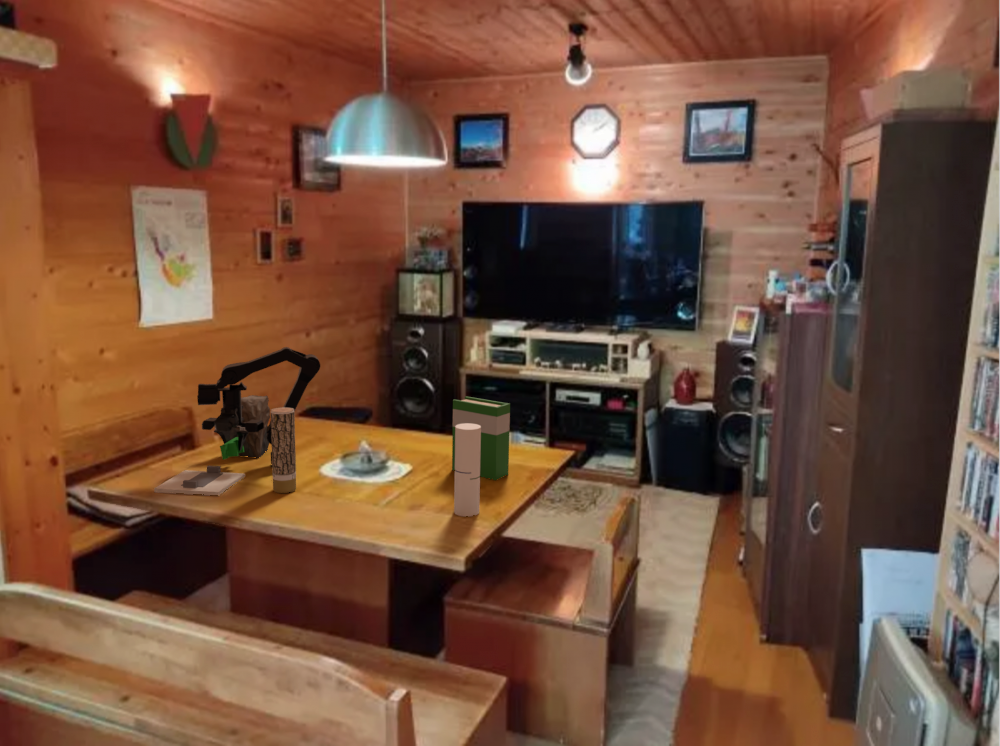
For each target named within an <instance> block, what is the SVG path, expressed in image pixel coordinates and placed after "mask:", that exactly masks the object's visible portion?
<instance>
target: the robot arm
mask: <svg viewBox="0 0 1000 746" xmlns="http://www.w3.org/2000/svg"><path fill="white" fill-rule="evenodd" d="M286 361H287V362H288V363H291V364H293V365H295V366H297V367H299V369H298V373H297V377H296V380H295V382H294V384H293V386H292V388H291V391H290V392H289V394H288V396H287V398H286V400H285V402H284V405H283V407H287V408H293V409H294V412H295V411H296V410H297V407H298V405H299V403H300V401H301V399H302V397H303V395H304V394H305V393H304V392H305V391H306V388H308V385H309V384H310V383H311V381H312V380H313V379H314V378H315V377H316V375H317V374H318V373H319V371H320V369H321V362H320V360H319V358H318V356H316V355H314V354H312V353H310V354H309V353H308V354H306V353H303V352H301V351H297V350H295V349H292V348H290V347H289V346H285V347H282V348H281V349H278V350H276V351H273V352H270V353H267V354H265V355H262V356H260V357H256V358H254V359H250V360H249V361H245V362H244V361H241V362H234V363H230V364H226V365H225V366H224V367H223V368H222V370H221V373H220V374H221V376H220V378H219V379H218V380H217V381H216V383H199V384H198V385H197V405H198V406H211V405H214V406H215V405H217V404H218V403H219V402H221V397H222V408H220V415H218V416H217V417H209V418H207V419H205V420H203V421H202V423H201V430H204V431H205V430H206V431H211V430H212V429H213V428H214V430H213V432H214V433H215V434H218V435H219V437H220V438H221V440H222V443H223V444H225V443H227V442H228V441H230V430H231V429H232V427H233V428H240V431H238V432H237V434H238V449H239V451H241V449H242V447H243V444H244V442H245V439H246V437H247V435H248V433H249V432H258V431H260V430H261V429H263V428H264V423H263V421H262V420H250V421H248V422H242V421H244V417H242V409H243V405H241V398H242V391H247V390H248V389H247V387H248V386H247V385H245V384H244V383H243V382H242V380H244V379H246V378H247V377H249V376H250V375H252V374H254V373H257V372H259V371H262V370H264V369H268V368H270V367H272V366H276V365H278V364H280V363H283V362H286ZM239 382H240V383H239ZM237 383H239V384H237ZM228 385H229V386H228ZM221 392H222V394H221ZM221 395H222V396H221ZM269 421H270V422H269V423H268V427H267V428H266V432H267V440H268V442H269V445H271V446H272V440H271V420H269ZM269 467H270V468H272V451H271V452H270V466H269Z"/></svg>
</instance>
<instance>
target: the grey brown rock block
mask: <svg viewBox="0 0 1000 746" xmlns="http://www.w3.org/2000/svg"><path fill="white" fill-rule="evenodd" d="M269 398H270V397H269V396H268V395H265V396H264V395H263V396H262V395H256V394H255V395H253V394H252V395H248V396H245V397H244V396H243V397H241V405H243V409H242V417H244V421H242V422H248V421H250V420H262V421H263V423H264V428H263V429H261V430H260V431H258V432H249V433H248V435H247V437H246V439H245V442H244V444H243V446H244V452H242V453H238V456H237V457H240V456H248V457H256V458H255V459H260V458H262V456H263V455H264V453H265V454H266V452H268V451H267V450H269V445H270V443H269V442H268V440H267V432H266V428H267V427H268V426H269V423H270V422H269V421H270V420H271V408H270V406H269ZM238 431H240V428H233V427H232V429H231V430H230V440H232V439H234V438H235V437H238V434H237V432H238ZM265 451H266V452H265ZM248 457H247V458H248ZM259 457H260V458H259Z"/></svg>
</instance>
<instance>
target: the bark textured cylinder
mask: <svg viewBox="0 0 1000 746" xmlns="http://www.w3.org/2000/svg"><path fill="white" fill-rule="evenodd" d="M270 421H271V440H272V445H271V452H272V464H271V465H272V467H271V468H272V490H273V492H275V493H277V494H290V493H293V492H294V491H296V490H297V464H296V462H297V459H296V458H297V457H296V454H297V453H296V423H295V421H296V419H295V411H294V409H293V408H287V407H275V408H272V409H270ZM289 492H290V493H289Z"/></svg>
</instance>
